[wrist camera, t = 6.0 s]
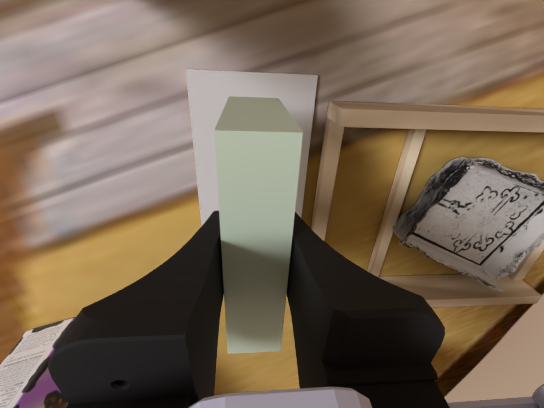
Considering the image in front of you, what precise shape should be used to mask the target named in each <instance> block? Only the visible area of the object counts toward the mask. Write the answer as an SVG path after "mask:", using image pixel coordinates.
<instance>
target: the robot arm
mask: <svg viewBox="0 0 544 408" xmlns="http://www.w3.org/2000/svg"><path fill="white" fill-rule="evenodd" d="M223 295H224V284H223V267H222V251H221V235H220V218H219V211H214V212H212V214H211V215H210V216H209V218H208V219H207V220H206V222H205V223H204V224H203V225H202V227H201V228H200V229H199V230H198V231H197V232H196V233H195V235H194V236H193V237H192V238H191V239H190V240H189V241H188V242H187V243H186V244H185V245H184V246H183V247H182V248H181V249H180V250H179V251H178V252H177V253H175V254H174V255H173V256H172V257H171V258H170V259H168V260H167V261H166V262H164V263H163V264H162V265H160V266H159V267H157V268H156V269H154V270H153V271H152V272H150V273H149V274H147V275H146V276H144V277H143V278H141V279H139V280H138V281H136V282H134V283H133V284H131V285H129V286H127V287H125V288H124V289H122V290H120V291H118V292H116V293H114V294H112V295H110V296H108V297H106V298H104V299H102V300H100V301H97V302H95V303H93V304H91V305H89V306H87V307H84V308H83V309H82V310H81V312H80V313H79V314H78V316H77V317H76V318H75V320H74V321H73V322H72V324H71V325H70V327H69V328H68V330H67V331H66V333H65V335H64V336H63V338H62V339H61V341H60V342H59V344H58V345H57V347H56V349H55V350H54V352H53V353H52V355H51V356H50V358H49V360H48V370H49V373H50V375H51V377H52V379H53V381H54V382H55V384H56V386H57V387H58V389H59V390H60V392H61V393H62V395H63V396H64V398H65V399H66V401H67V402H68V405H67V407H66V408H544V384H543V385H541V386H540V387H539V388H538V389H537V390H536V391H535V392H534V393H533V396H532V397H523V398H508V399H494V400H480V401H467V402H454V403H447V402H446V400H445V398H444V397H443V395H442V393H441V391H440V390H439V388H438V386H437V384H436V383H435V381H434V380H437V378H438V376H437V373H436V371H435V370H434V368H433V366H432V364H431V361H432V360H433V358H434V356H435V354H436V353H437V351H438V349H439V348H440V346H441V344H442V341H443V339H444V336H445V327H444V326H443V324H442V322H441V321H440V319H439V318H438V316H437V315H436V314H435V312H434V311H433V309H432V308H431V307H430V305H429V304H428V303H427V301H426V300H425V299H424V298H423V296H421V295H418V294H416V293H413V292H411V291H408V290H406V289H403V288H401V287H398V286H396V285H394V284H391V283H389V282H387V281H385V280H383V279H381V278H379V277H377V276H375V275H373V274H371V273H369V272H368V271H366V270H364V269H362V268H361V267H359V266H357V265H356V264H354V263H352V262H351V261H349V260H348V259H346V258H345V257H344V256H342V255H341V254H339V253H338V252H337V251H335V250H334V249H333V248H331V247H330V246H329V245H328V244H327V243H326V242H324V241H323V240H322V239H321V238H320V237H319V236H318V235H317V234H316V233H315V232H314V231H313V230H312V229H311V228H310V227H309V226H308V225H307V224H306V223H305V222H304V221H303V220H302V219H301V217H300V216H299V215H298V214H297V213H296V212H295V215H294V225H293V235H292V245H291V254H290V264H289V274H288V284H287V297H288V302H289V306H290V311H291V316H292V324H293V332H294V340H295V348H296V357H297V366H298V376H299V385H300V389H287V390H271V391H256V392H240V393H226V394H221V395H216V396H214V387H215V372H216V358H217V344H218V332H219V320H220V312H221V306H222V301H223Z"/></svg>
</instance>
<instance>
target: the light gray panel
mask: <svg viewBox="0 0 544 408" xmlns="http://www.w3.org/2000/svg"><path fill="white" fill-rule="evenodd" d="M186 78H187V88H188V98H189V107H190V117H191V127H192V137H193V146H194V156H195V166H196V176H197V186H198V195H199V205H200V215H201V225H203V224H204V223H205V222H206V220H207V219H208V218H209V216H210V215H211V214H212V212H214V211H219V202H218V185H217V169H216V152H215V136H214V130H215V127H216V125H217V123H218V120H219V118H220V116H221V114H222V111H223V109H224V107H225V104H226V102H227V100H228V97H229V96H234V97H261V98H279V99H280V101H281V102H282V103H283V105H284V106H285V108H286V109H287V111H288V112H289V113H290V115H291V116H292V118H293V119H294V121H295V122H296V123H297V125H298V126H299V128H300V129H301V131H302V132H303V137H302V147H301V157H300V167H299V176H298V186H297V196H296V206H295V212H296V213H297V214H298V215H299V216H300V217H301V216H302V207H303V199H304V190H305V181H306V173H307V164H308V156H309V147H310V139H311V130H312V122H313V113H314V104H315V96H316V87H317V79H318V75H308V74H286V73H264V72H242V71H220V70H198V69H186Z"/></svg>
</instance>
